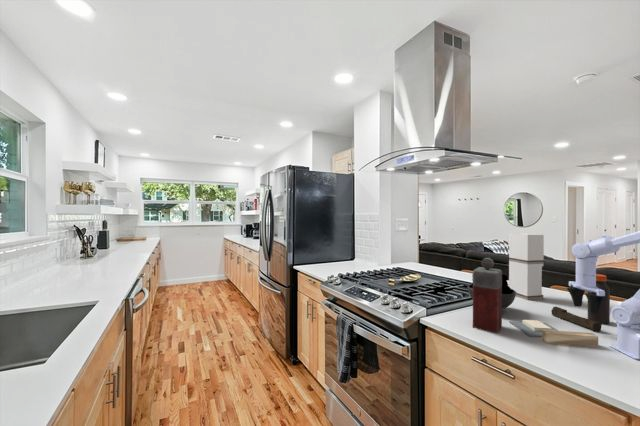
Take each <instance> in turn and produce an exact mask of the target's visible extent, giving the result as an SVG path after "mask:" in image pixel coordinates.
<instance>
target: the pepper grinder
mask: <svg viewBox="0 0 640 426" xmlns="http://www.w3.org/2000/svg"><path fill="white" fill-rule="evenodd" d="M480 264H481V266H478V267H477V268H474V269H475V270H474V269H473V271H472V275H473V277H472V279H473V280H472V283H473V299H472V328H474V329H478V330H482V331H487V332H489V333H490V332H491V333H494V334H499V333H500V332H501V329H502V328H503V317H502V316H503V315H502V314H503V313H502V311H503V309H502V274H503V271H502V270H501V269H498V268H493V267H494V266H495V262H494V260H493V259H492V258H490V257H485V258H483V259H482V260H481V262H480Z"/></svg>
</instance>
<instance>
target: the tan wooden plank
mask: <svg viewBox="0 0 640 426" xmlns="http://www.w3.org/2000/svg"><path fill="white" fill-rule="evenodd" d="M557 330H558V329H557ZM557 330H543V329H542V337H540V338H541V341H543V342H544V343H546V344H549V345H550V344H552V345H562V344H563V345H564V346H577V347H578V346H579V347H589V348H590V347H591V348H592V347H593V348H599V336H598V335H597V334H594V332H586V331H571V330H559V331H557Z"/></svg>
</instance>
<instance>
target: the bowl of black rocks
mask: <svg viewBox="0 0 640 426" xmlns="http://www.w3.org/2000/svg"><path fill="white" fill-rule="evenodd" d="M475 269H476V268H474V269H473V271H474V270H475ZM471 277H472V281H473V274H472V275H471ZM508 280H509V276H507V275H506V274H503V273H502V310H504V309H506V308H508V307H510V306H511V305H512V304H513V303H514V301H515V299H516V297H517V296H516V291H515V290H513V289H511V288H510V287H509V282H508ZM467 291H468V294H469V296H470V298H471V299H472V300H473V282H472V283H471V284H468V285H467Z"/></svg>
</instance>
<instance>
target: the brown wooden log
mask: <svg viewBox="0 0 640 426" xmlns="http://www.w3.org/2000/svg"><path fill="white" fill-rule="evenodd" d="M551 315H552V316H553V317H555V318H558V319H559V318H560V319H559V320H562V319H563V321H565V320H566V321H568V322H571V323H573V324H575V325H579V326H581V327H584V328H586V329H588V330H591V331H592V333H598V332H601V330H602V325H603V324H601V323H599V322H594V321H591V320H589V319H588V318H586V317H581V316H579V315H576V314H574V313H571V312H569V311H568V310H567V309H564V308H562V307H558V306H553V307H552V308H551Z"/></svg>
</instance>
